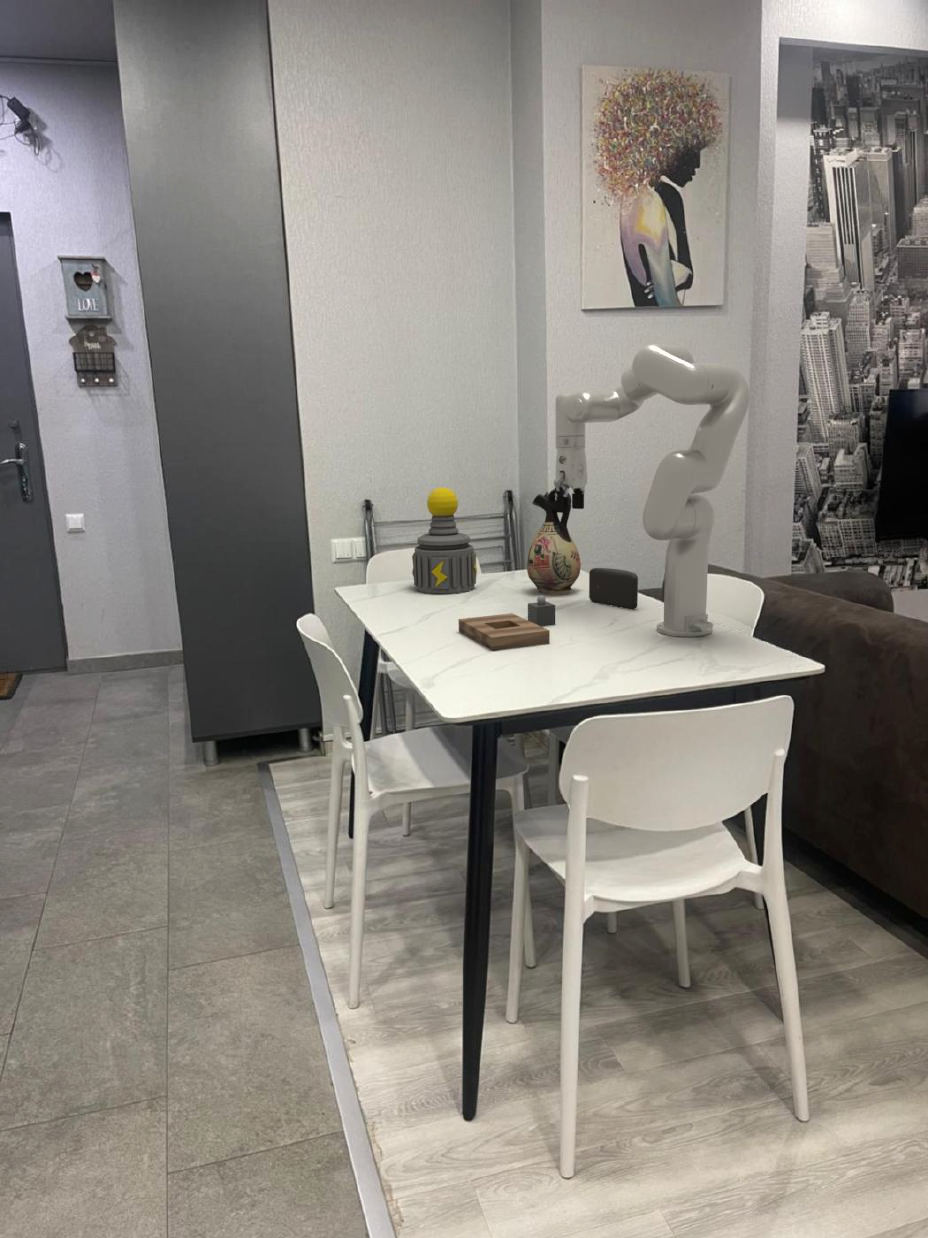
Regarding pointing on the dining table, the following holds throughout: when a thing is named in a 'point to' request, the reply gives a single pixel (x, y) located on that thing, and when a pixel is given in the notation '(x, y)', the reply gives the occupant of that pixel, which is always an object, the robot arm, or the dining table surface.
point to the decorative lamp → (444, 550)
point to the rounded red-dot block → (613, 587)
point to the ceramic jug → (553, 551)
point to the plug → (541, 612)
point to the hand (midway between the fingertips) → (570, 510)
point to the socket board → (504, 631)
